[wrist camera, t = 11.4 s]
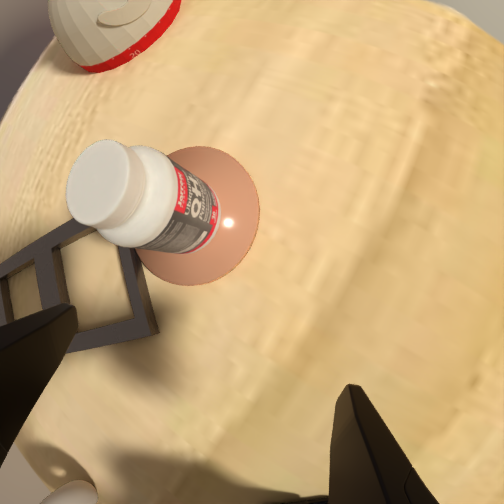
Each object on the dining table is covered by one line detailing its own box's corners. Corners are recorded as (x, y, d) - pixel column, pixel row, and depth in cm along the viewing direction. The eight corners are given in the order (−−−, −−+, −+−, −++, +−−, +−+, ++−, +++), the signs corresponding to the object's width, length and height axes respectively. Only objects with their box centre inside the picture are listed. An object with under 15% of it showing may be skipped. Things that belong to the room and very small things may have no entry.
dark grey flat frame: (159, 332, 23) (151, 335, 21) (16, 361, 27) (8, 363, 26) (127, 196, 24) (119, 193, 23) (-2, 270, 29) (-9, 270, 28)
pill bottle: (238, 221, 21) (163, 182, 12) (179, 270, 22) (79, 267, 12) (195, 164, 22) (112, 103, 13) (142, 212, 23) (44, 182, 13)
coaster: (278, 261, 21) (276, 260, 20) (150, 300, 23) (146, 301, 22) (236, 129, 22) (234, 125, 22) (125, 180, 24) (120, 178, 24)
